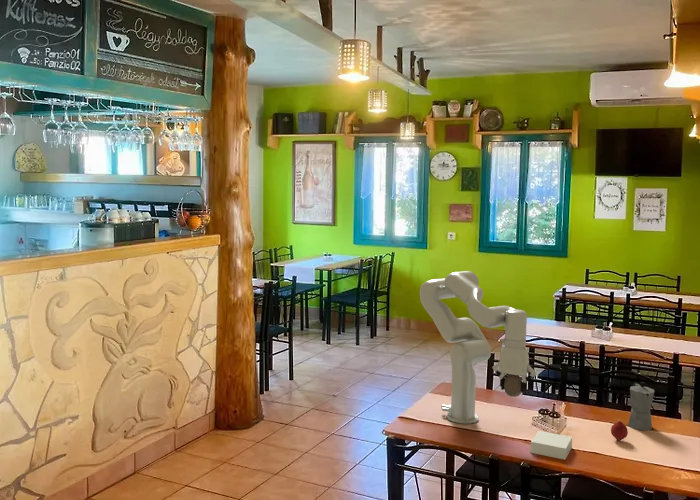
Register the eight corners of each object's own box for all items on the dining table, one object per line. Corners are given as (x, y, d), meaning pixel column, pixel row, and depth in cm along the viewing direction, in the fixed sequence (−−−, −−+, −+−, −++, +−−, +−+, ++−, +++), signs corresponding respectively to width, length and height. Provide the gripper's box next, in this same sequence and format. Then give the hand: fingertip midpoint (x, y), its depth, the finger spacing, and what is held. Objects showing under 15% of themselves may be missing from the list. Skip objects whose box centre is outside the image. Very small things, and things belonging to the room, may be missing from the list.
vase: (523, 398, 243) (524, 375, 242) (503, 397, 244) (504, 373, 243) (522, 392, 250) (523, 370, 249) (503, 391, 251) (504, 368, 250)
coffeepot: (658, 433, 257) (661, 387, 255) (633, 432, 258) (636, 386, 256) (643, 418, 272) (646, 375, 270) (620, 418, 273) (622, 375, 271)
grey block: (530, 452, 237) (530, 441, 236) (538, 441, 247) (538, 430, 247) (565, 459, 231) (565, 448, 231) (571, 447, 242) (572, 437, 241)
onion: (626, 438, 251) (627, 418, 250) (627, 444, 245) (628, 423, 244) (610, 436, 253) (611, 416, 252) (610, 442, 247) (611, 421, 246)
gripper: (488, 342, 246) (487, 389, 248) (536, 348, 238) (534, 397, 239) (494, 338, 252) (493, 384, 254) (541, 344, 244) (539, 391, 246)
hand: (513, 390), depth 247 cm, fingers closed on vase, 6 cm apart
